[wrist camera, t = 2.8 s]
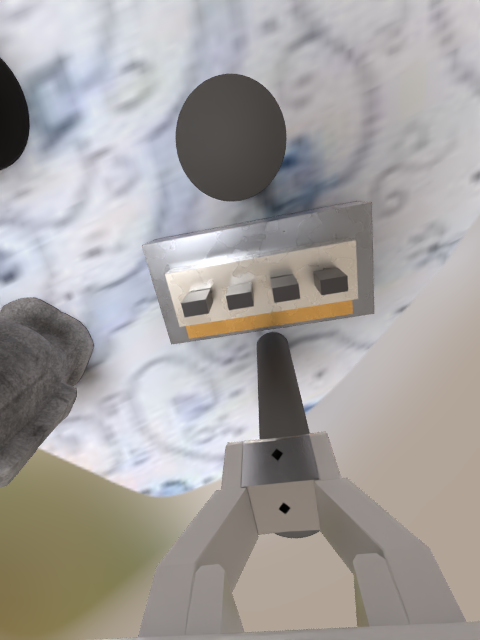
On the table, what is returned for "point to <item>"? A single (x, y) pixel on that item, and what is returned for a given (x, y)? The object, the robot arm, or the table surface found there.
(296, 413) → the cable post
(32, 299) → the figurine
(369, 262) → the breaker panel
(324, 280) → the breaker paddles
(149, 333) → the table surface
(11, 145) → the wine glass
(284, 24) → the table surface
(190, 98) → the disc
